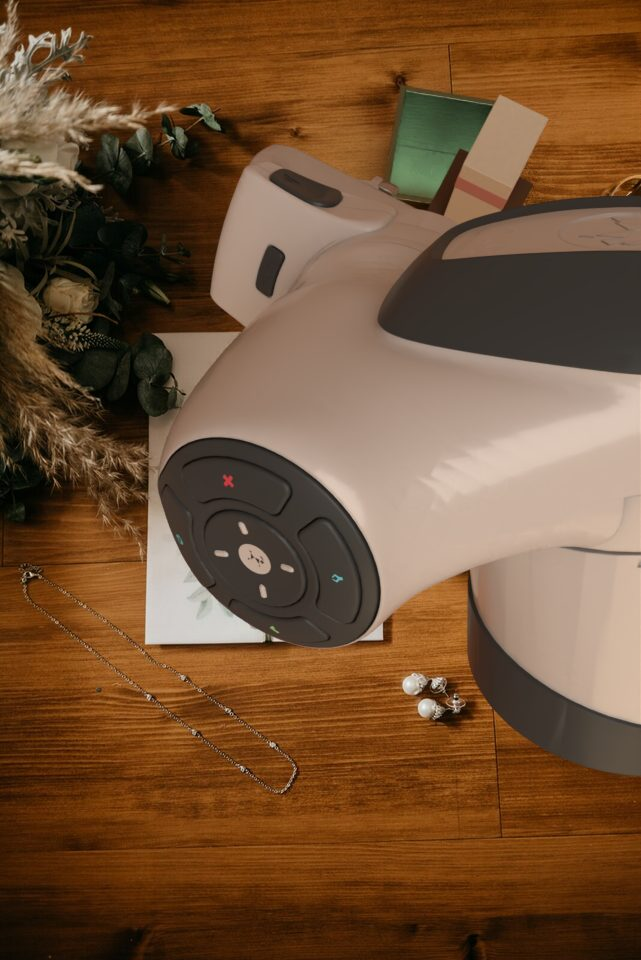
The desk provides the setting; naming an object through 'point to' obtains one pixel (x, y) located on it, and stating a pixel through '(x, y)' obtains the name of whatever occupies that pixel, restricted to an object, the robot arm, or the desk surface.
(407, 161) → the bin
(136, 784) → the desk surface
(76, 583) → the desk surface
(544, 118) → the packet
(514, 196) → the plinth
